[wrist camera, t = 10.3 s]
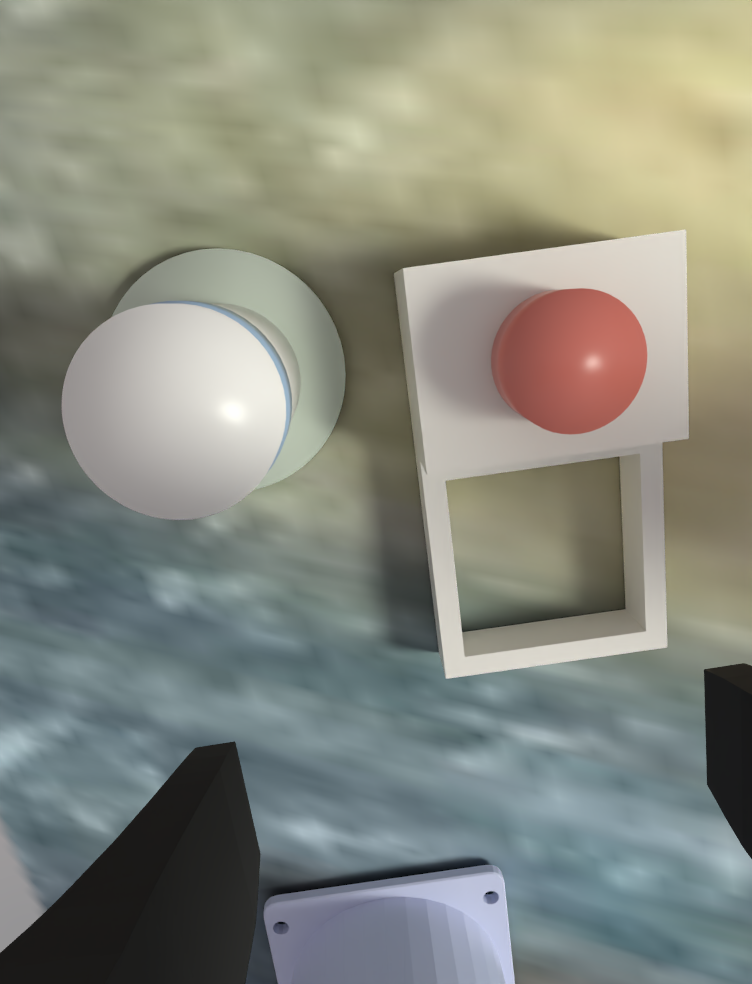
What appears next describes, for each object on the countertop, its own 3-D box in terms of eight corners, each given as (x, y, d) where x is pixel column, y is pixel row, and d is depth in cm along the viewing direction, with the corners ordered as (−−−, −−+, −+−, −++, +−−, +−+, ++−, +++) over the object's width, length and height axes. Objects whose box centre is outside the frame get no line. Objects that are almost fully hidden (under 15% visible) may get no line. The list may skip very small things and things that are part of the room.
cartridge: (317, 439, 19) (307, 498, 13) (171, 470, 19) (98, 542, 14) (282, 286, 18) (254, 278, 12) (127, 319, 18) (28, 327, 12)
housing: (645, 624, 22) (692, 673, 19) (439, 653, 22) (454, 707, 19) (632, 240, 19) (686, 229, 16) (393, 273, 19) (402, 268, 16)
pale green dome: (360, 471, 20) (360, 475, 20) (135, 502, 20) (131, 506, 20) (327, 233, 18) (326, 232, 18) (81, 267, 18) (76, 266, 18)
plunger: (589, 400, 19) (649, 424, 15) (478, 415, 19) (510, 443, 15) (583, 283, 18) (645, 278, 14) (466, 299, 18) (498, 298, 14)
